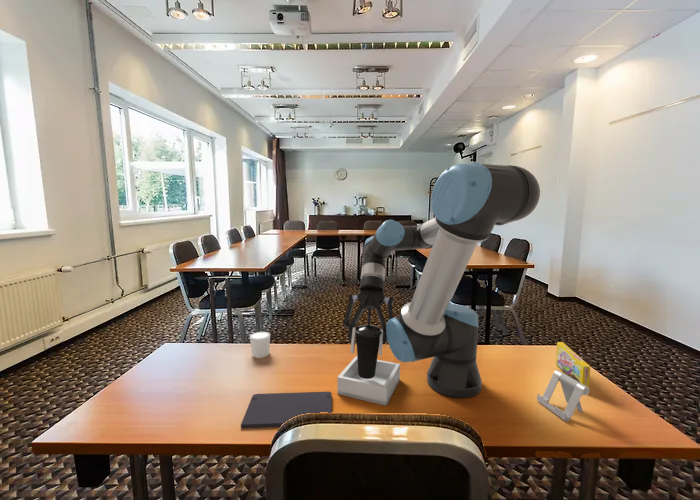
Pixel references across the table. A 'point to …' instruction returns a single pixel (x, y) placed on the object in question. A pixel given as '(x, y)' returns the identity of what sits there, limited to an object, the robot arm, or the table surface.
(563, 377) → the portable electronic device stand
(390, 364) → the cup tray
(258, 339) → the white tapered cylinder
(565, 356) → the candy box
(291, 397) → the notebook
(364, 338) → the drinking cup
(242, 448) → the table surface
